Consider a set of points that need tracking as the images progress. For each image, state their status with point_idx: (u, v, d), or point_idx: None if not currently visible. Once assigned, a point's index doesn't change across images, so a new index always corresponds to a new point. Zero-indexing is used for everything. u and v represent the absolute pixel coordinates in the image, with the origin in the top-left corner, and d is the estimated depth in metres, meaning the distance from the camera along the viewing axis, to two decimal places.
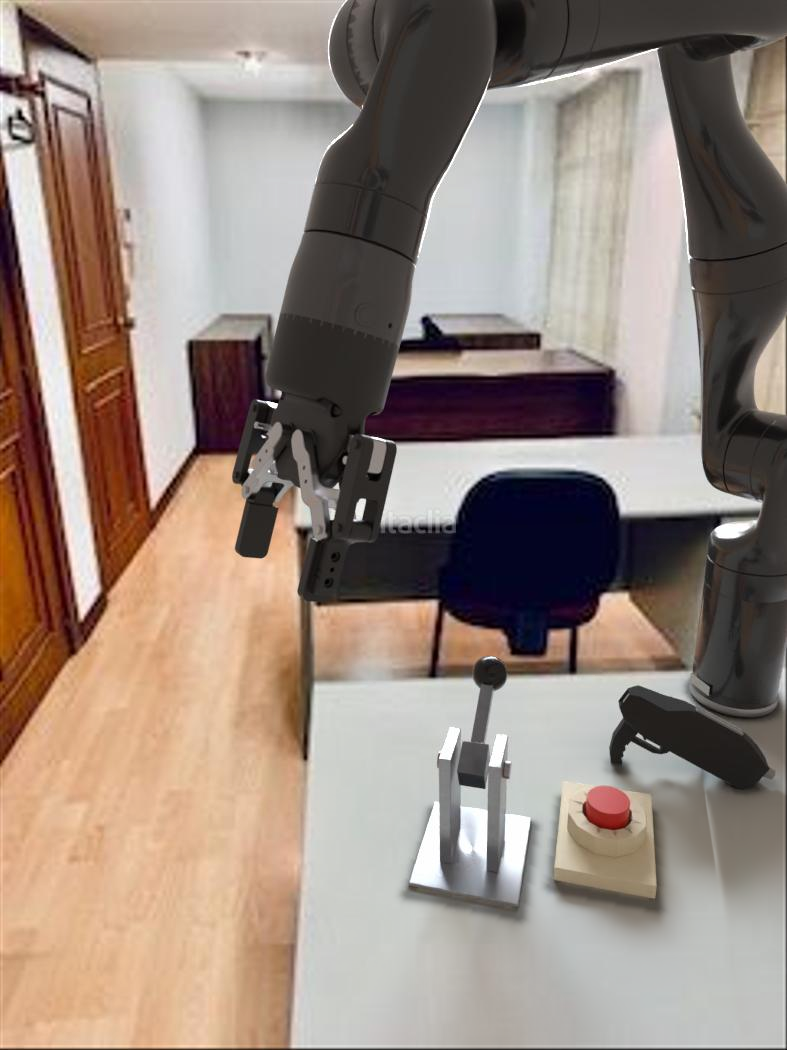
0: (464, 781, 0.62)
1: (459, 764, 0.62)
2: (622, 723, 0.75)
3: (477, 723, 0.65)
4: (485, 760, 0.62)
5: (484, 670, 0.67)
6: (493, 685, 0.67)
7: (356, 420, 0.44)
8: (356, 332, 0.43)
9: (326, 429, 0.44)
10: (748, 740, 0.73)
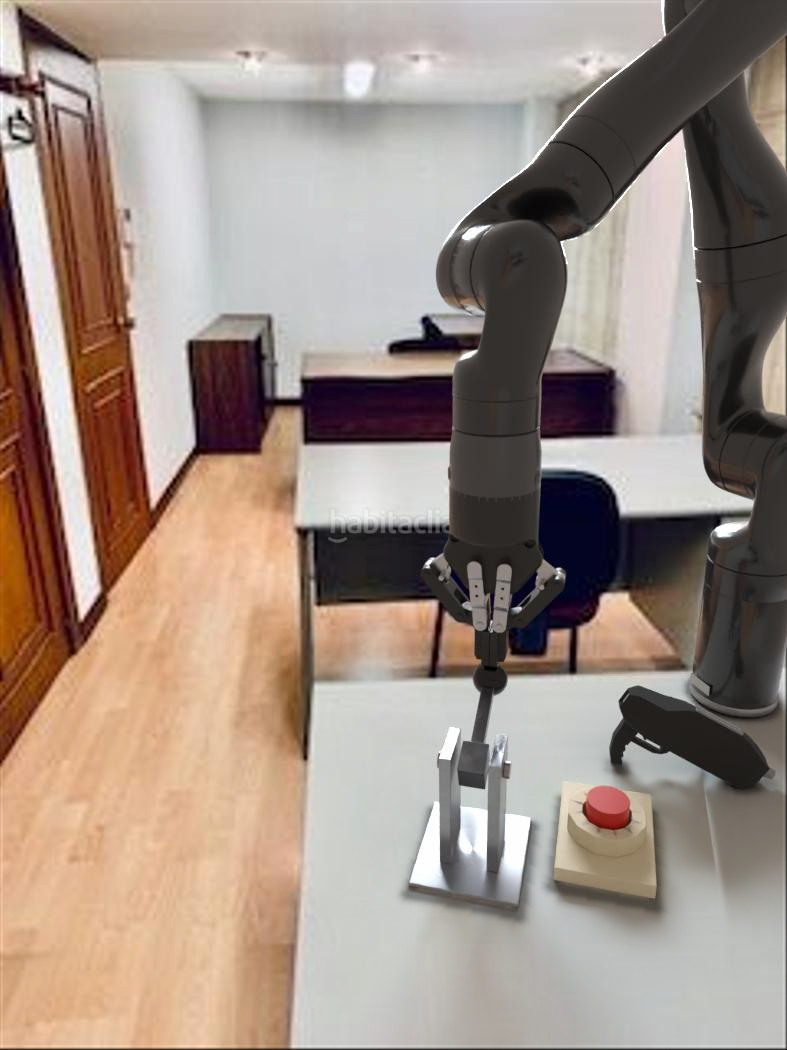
0: (464, 780, 0.62)
1: (459, 763, 0.62)
2: (622, 723, 0.75)
3: (477, 724, 0.65)
4: (485, 759, 0.62)
5: (485, 673, 0.68)
6: (493, 689, 0.68)
7: (538, 541, 0.64)
8: (536, 491, 0.61)
9: (525, 556, 0.63)
10: (748, 740, 0.73)
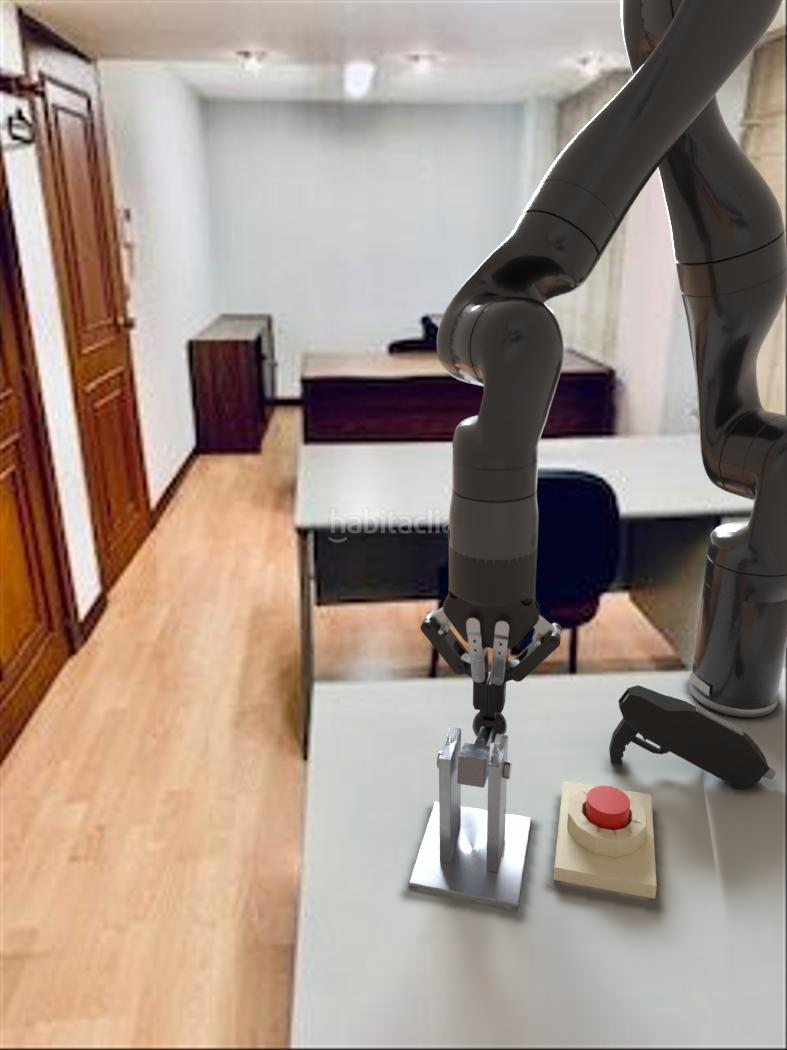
0: (463, 774, 0.62)
1: (461, 752, 0.62)
2: (622, 723, 0.75)
3: (478, 742, 0.66)
4: (487, 753, 0.62)
5: None
6: (493, 728, 0.70)
7: (534, 598, 0.66)
8: (533, 552, 0.63)
9: (522, 613, 0.65)
10: (748, 740, 0.73)
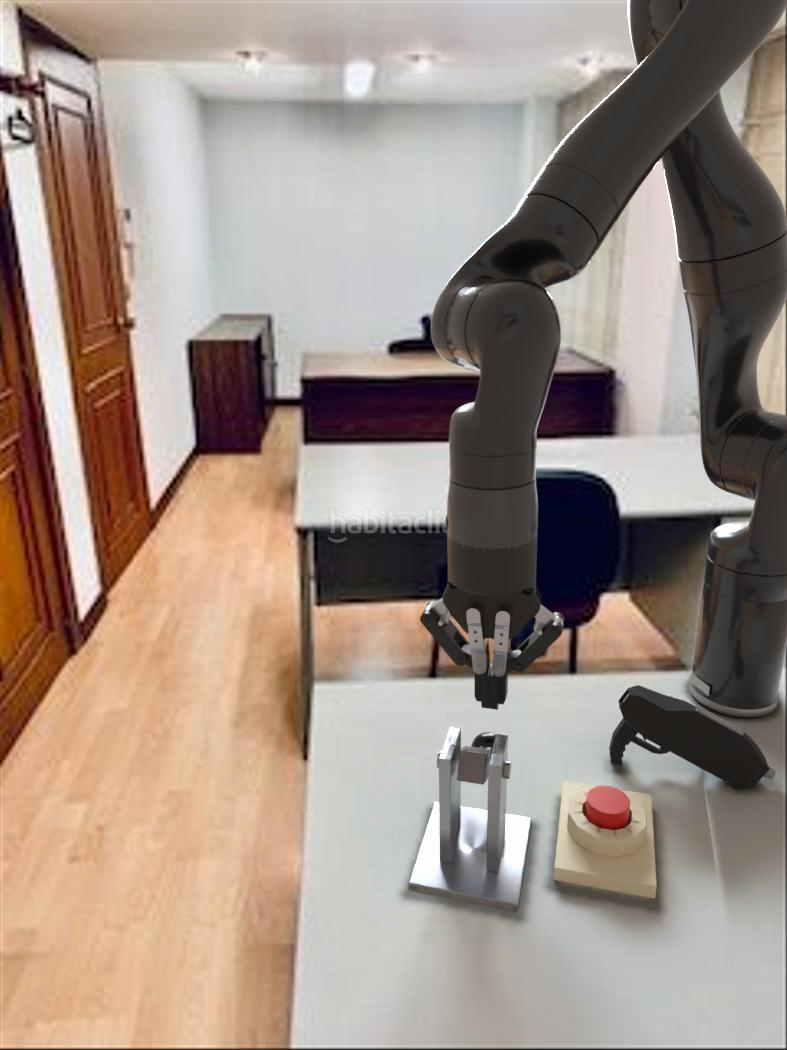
0: (463, 770, 0.62)
1: (462, 749, 0.62)
2: (622, 723, 0.75)
3: None
4: (487, 752, 0.63)
5: (485, 734, 0.71)
6: (492, 748, 0.70)
7: (535, 587, 0.65)
8: (533, 540, 0.62)
9: (523, 603, 0.64)
10: (748, 740, 0.73)
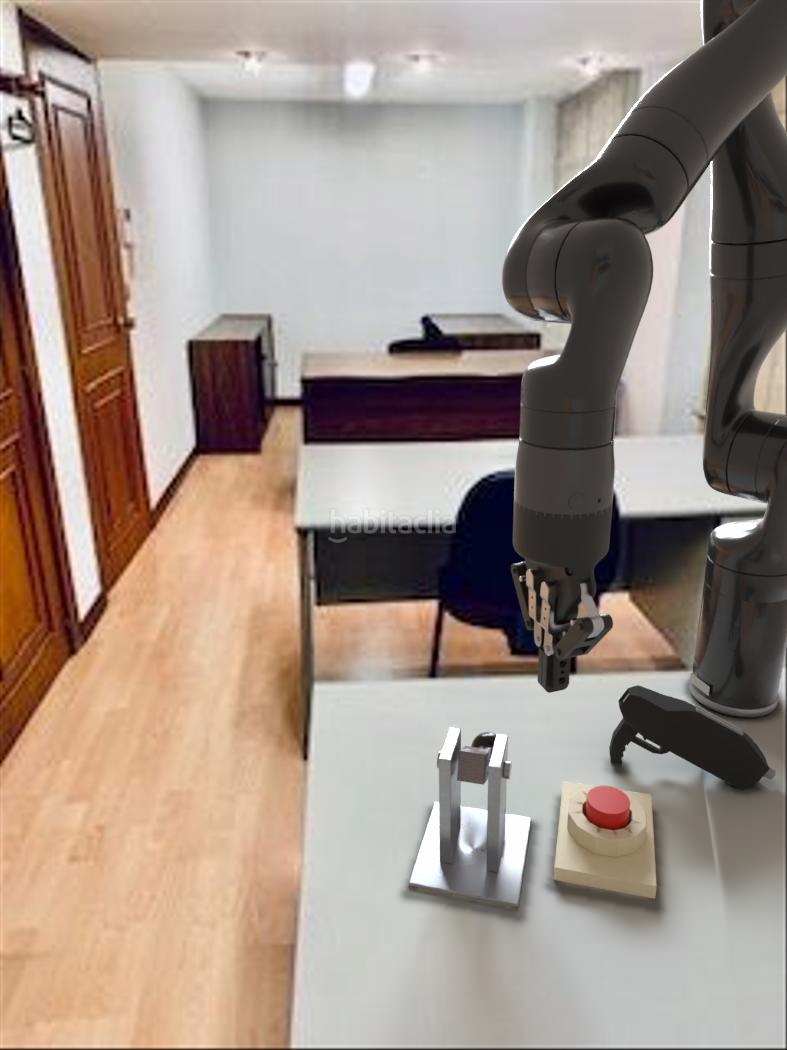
0: (463, 770, 0.62)
1: (462, 749, 0.62)
2: (622, 723, 0.75)
3: None
4: (487, 752, 0.63)
5: (485, 734, 0.71)
6: (492, 748, 0.70)
7: (586, 574, 0.58)
8: (572, 516, 0.56)
9: (565, 583, 0.58)
10: (748, 740, 0.73)
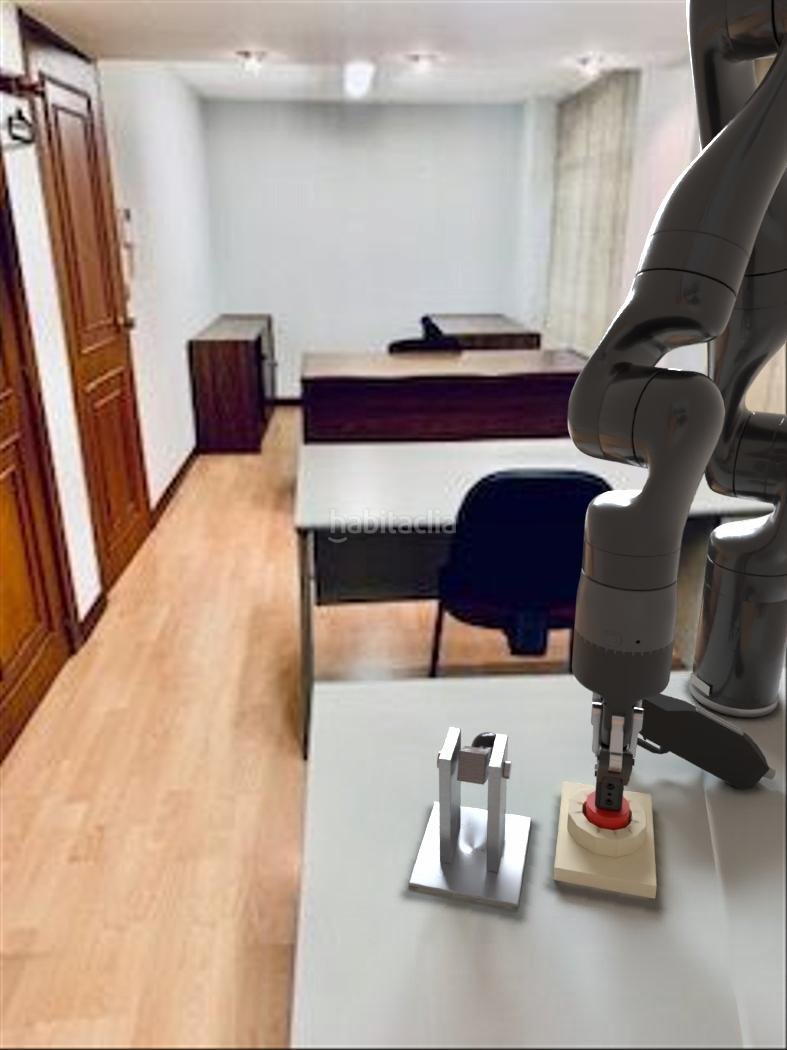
0: (463, 770, 0.62)
1: (462, 749, 0.62)
2: None
3: None
4: (487, 752, 0.63)
5: (485, 734, 0.71)
6: (492, 748, 0.70)
7: (621, 709, 0.58)
8: (607, 649, 0.56)
9: (603, 711, 0.59)
10: (748, 740, 0.73)
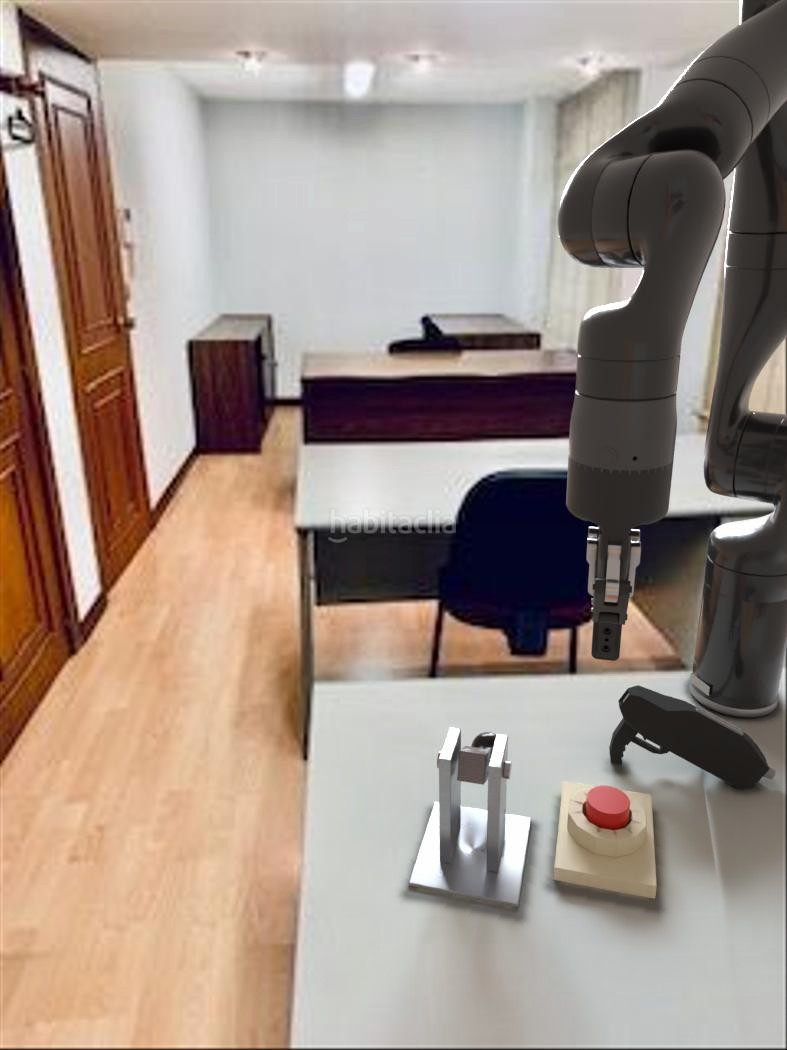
0: (463, 770, 0.62)
1: (462, 749, 0.62)
2: (622, 723, 0.75)
3: None
4: (487, 752, 0.63)
5: (485, 734, 0.71)
6: (492, 748, 0.70)
7: (617, 535, 0.55)
8: (602, 470, 0.54)
9: None
10: (748, 740, 0.73)
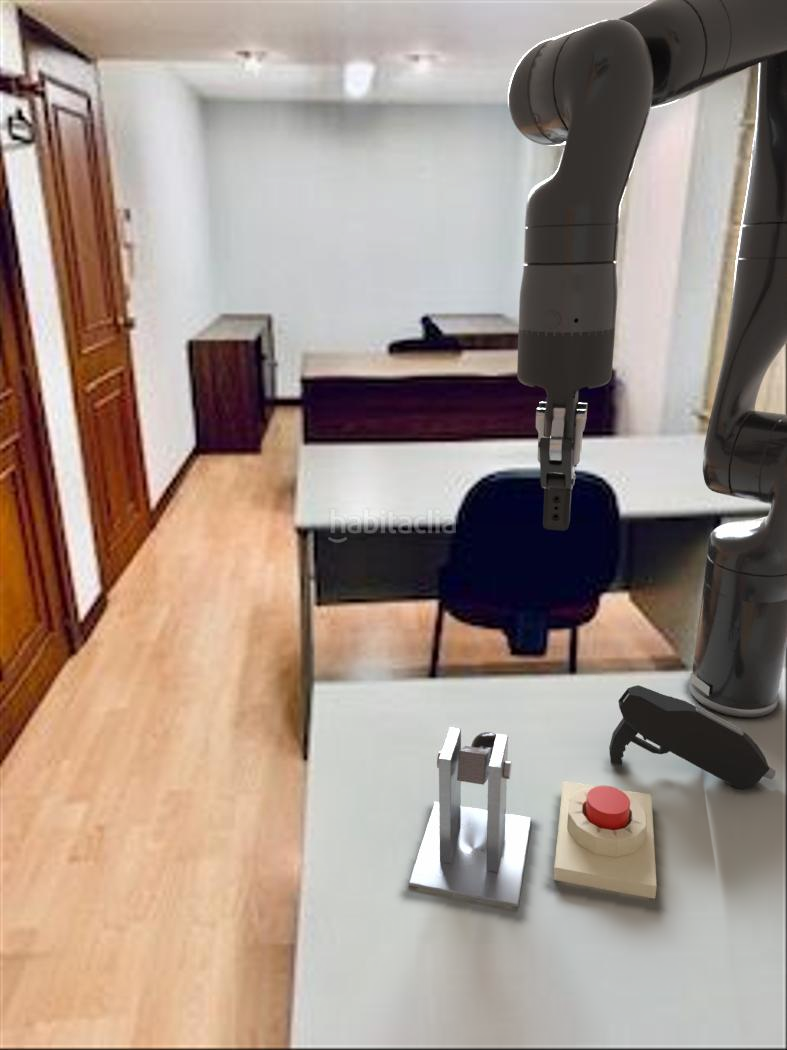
0: (463, 770, 0.62)
1: (462, 749, 0.62)
2: (622, 723, 0.75)
3: None
4: (487, 752, 0.63)
5: (485, 734, 0.71)
6: (492, 748, 0.70)
7: (562, 397, 0.59)
8: (547, 333, 0.58)
9: None
10: (748, 740, 0.73)
